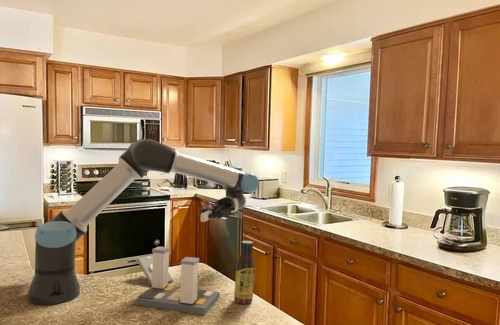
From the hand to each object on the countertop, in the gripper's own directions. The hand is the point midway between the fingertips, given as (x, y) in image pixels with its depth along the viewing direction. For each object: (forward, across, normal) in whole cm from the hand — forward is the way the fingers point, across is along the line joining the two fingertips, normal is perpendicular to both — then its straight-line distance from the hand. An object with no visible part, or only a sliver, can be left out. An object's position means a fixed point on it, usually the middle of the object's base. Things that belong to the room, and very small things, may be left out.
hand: (202, 218), depth 130 cm
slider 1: (+8, +11, -23) cm, 27 cm away
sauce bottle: (+4, -18, -26) cm, 31 cm away
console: (+12, +2, -25) cm, 28 cm away
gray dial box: (-3, +20, -27) cm, 34 cm away
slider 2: (+16, -3, -23) cm, 28 cm away
